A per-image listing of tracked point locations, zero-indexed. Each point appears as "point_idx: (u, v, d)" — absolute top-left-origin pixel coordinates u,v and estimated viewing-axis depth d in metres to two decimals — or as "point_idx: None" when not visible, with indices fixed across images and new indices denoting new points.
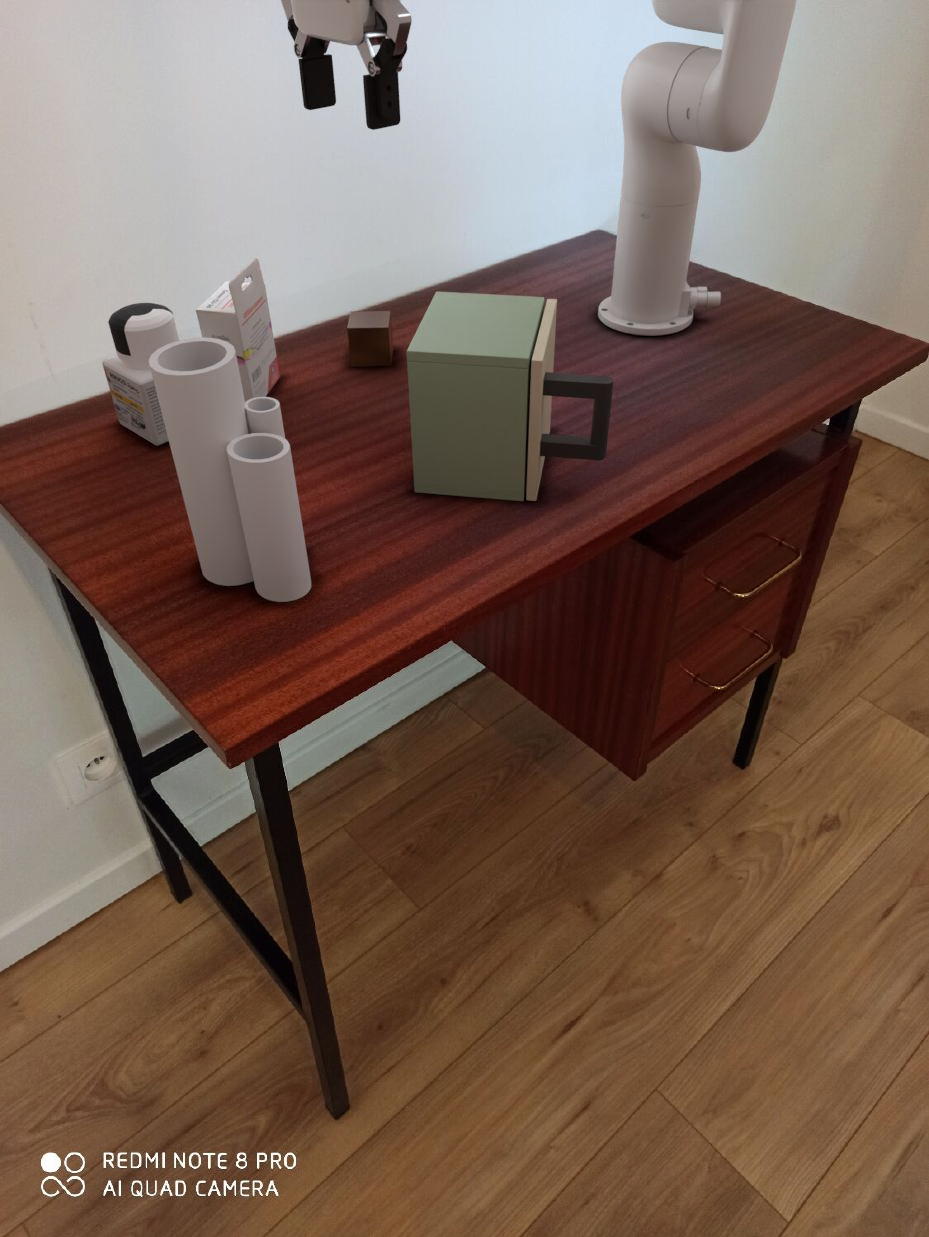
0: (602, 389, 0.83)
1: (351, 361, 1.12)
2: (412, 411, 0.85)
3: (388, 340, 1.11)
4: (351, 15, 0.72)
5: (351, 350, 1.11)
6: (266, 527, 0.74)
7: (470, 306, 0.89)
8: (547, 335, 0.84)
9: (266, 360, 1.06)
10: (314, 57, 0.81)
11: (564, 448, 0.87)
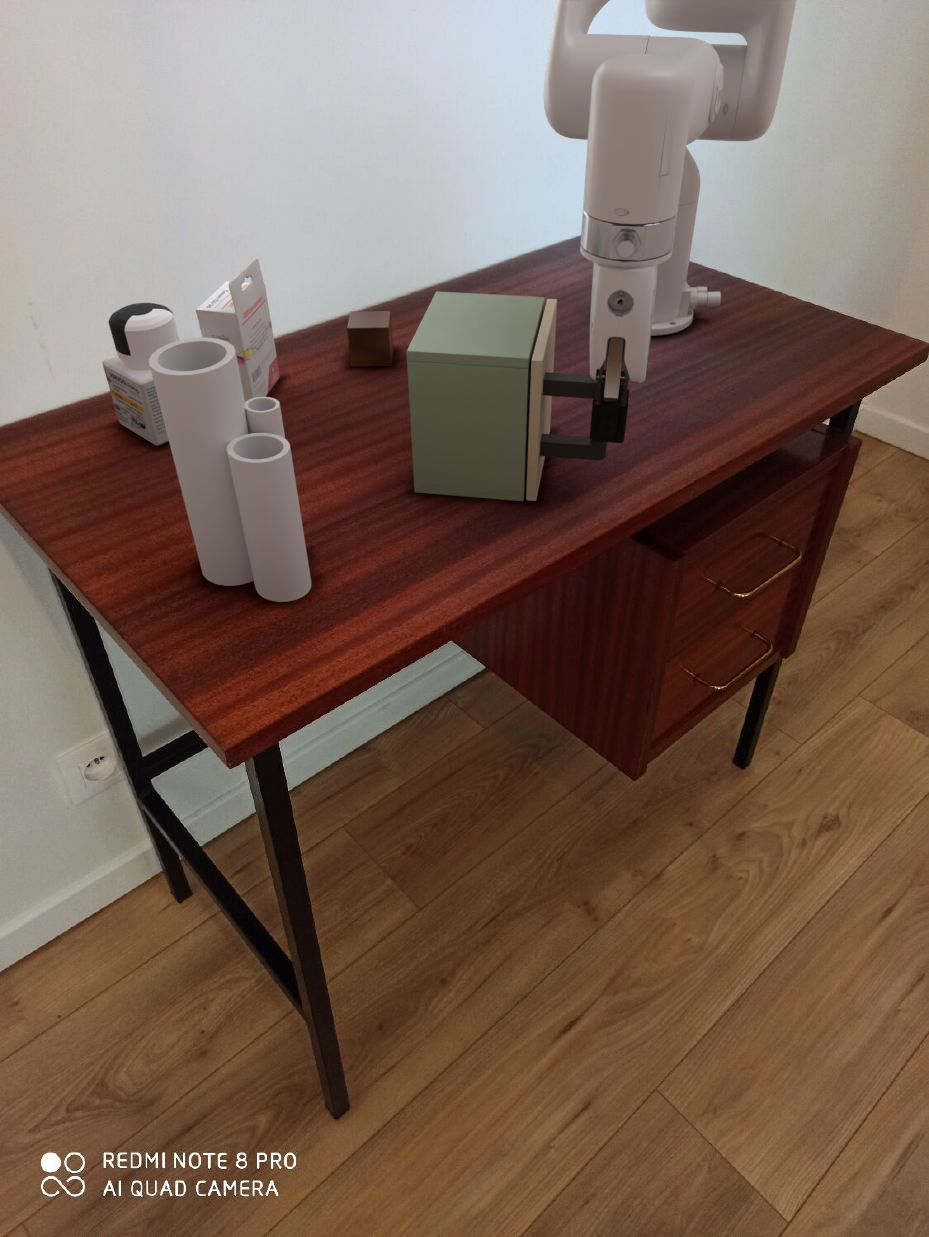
0: None
1: (351, 361, 1.12)
2: (412, 411, 0.85)
3: (388, 340, 1.11)
4: (590, 359, 0.77)
5: (351, 350, 1.11)
6: (266, 527, 0.74)
7: (470, 306, 0.89)
8: (547, 335, 0.84)
9: (266, 360, 1.06)
10: None
11: (564, 448, 0.87)
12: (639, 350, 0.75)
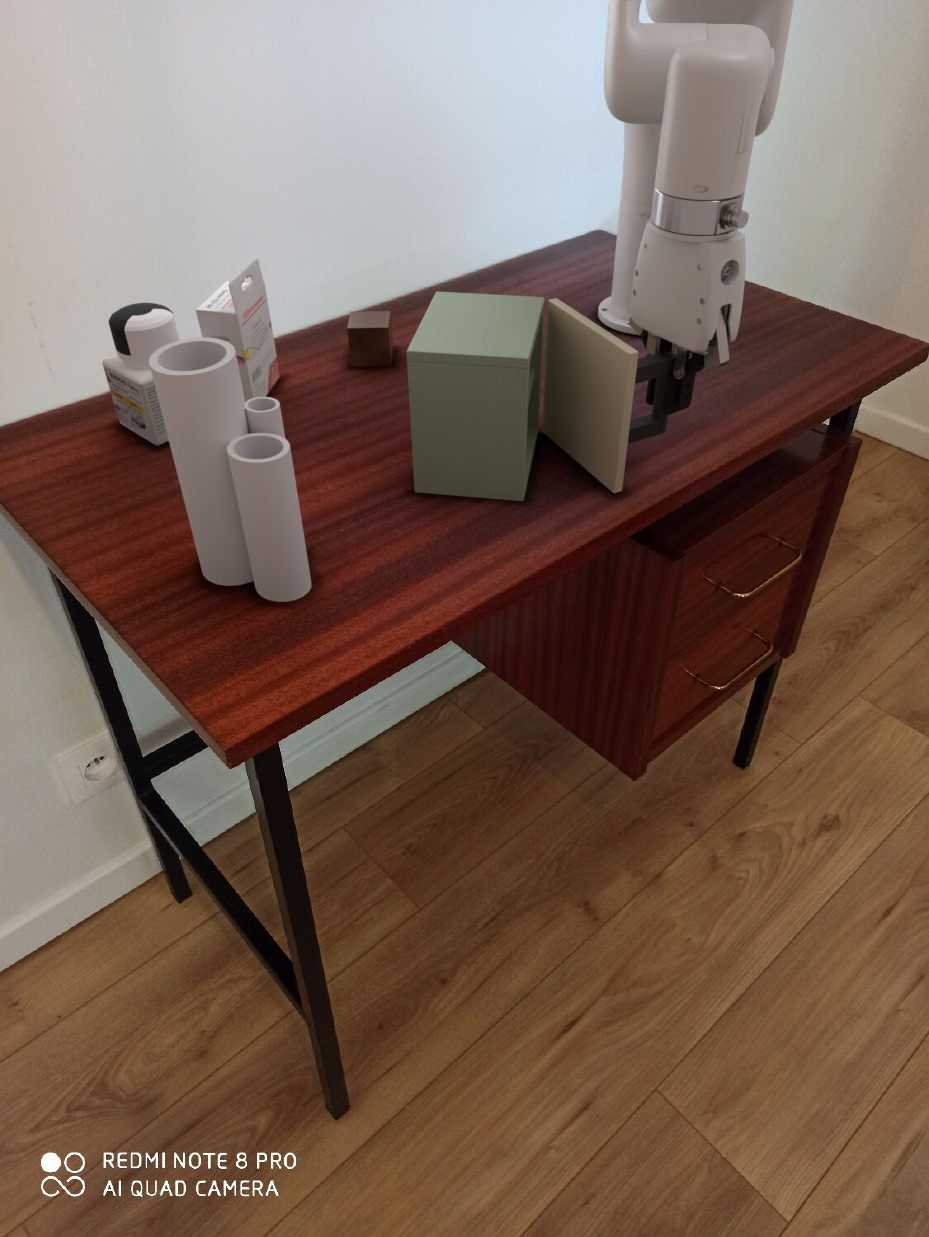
0: (671, 364, 0.86)
1: (351, 361, 1.12)
2: (412, 411, 0.85)
3: (388, 340, 1.11)
4: (699, 333, 0.81)
5: (351, 350, 1.11)
6: (266, 527, 0.74)
7: (470, 306, 0.89)
8: (604, 329, 0.85)
9: (266, 360, 1.06)
10: None
11: (637, 432, 0.89)
12: (739, 310, 0.81)
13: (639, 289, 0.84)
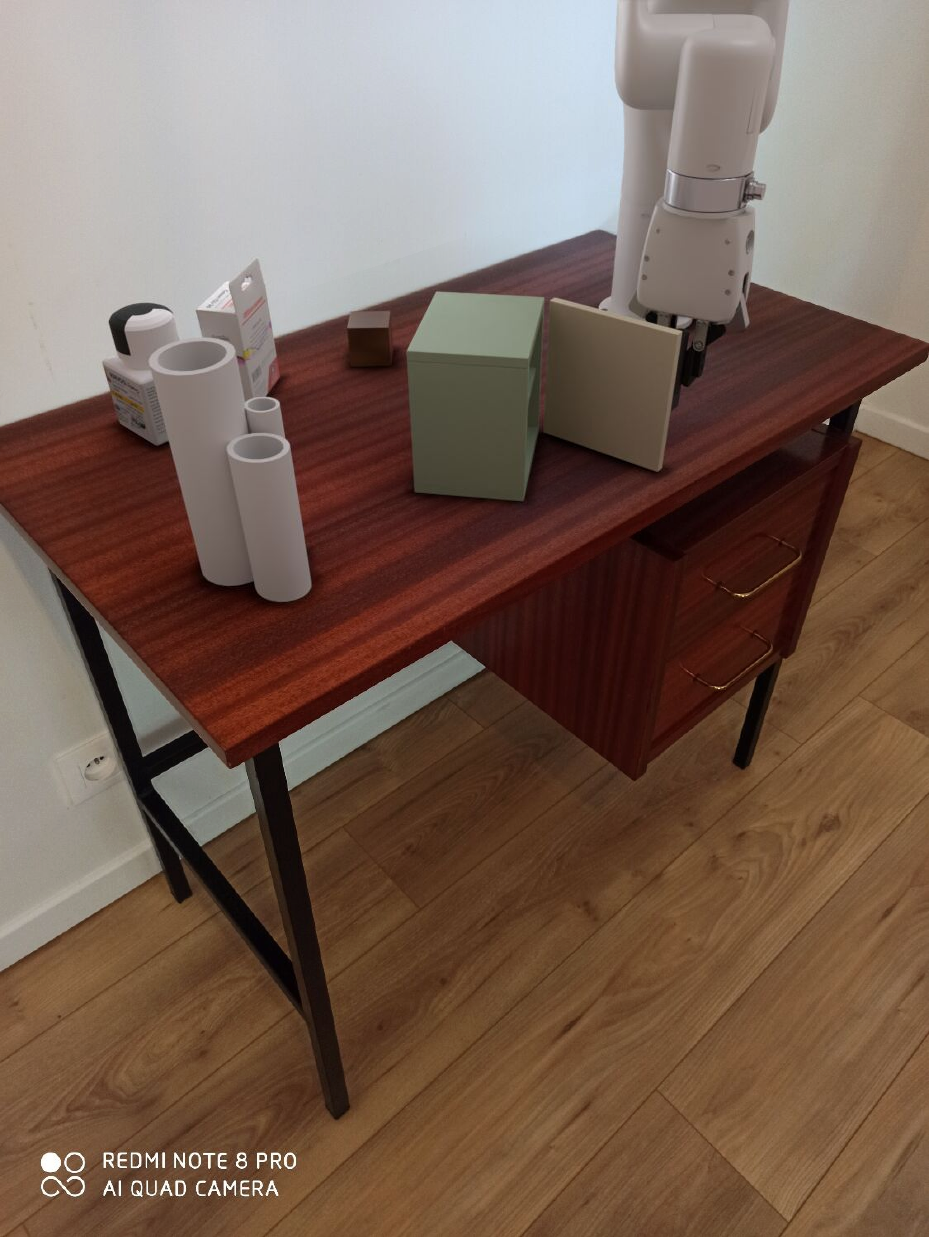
0: (687, 339, 0.90)
1: (351, 361, 1.12)
2: (412, 411, 0.85)
3: (388, 340, 1.11)
4: (728, 303, 0.86)
5: (351, 350, 1.11)
6: (266, 527, 0.74)
7: (470, 306, 0.89)
8: (631, 318, 0.87)
9: (266, 360, 1.06)
10: None
11: None
12: (750, 277, 0.87)
13: (651, 273, 0.88)
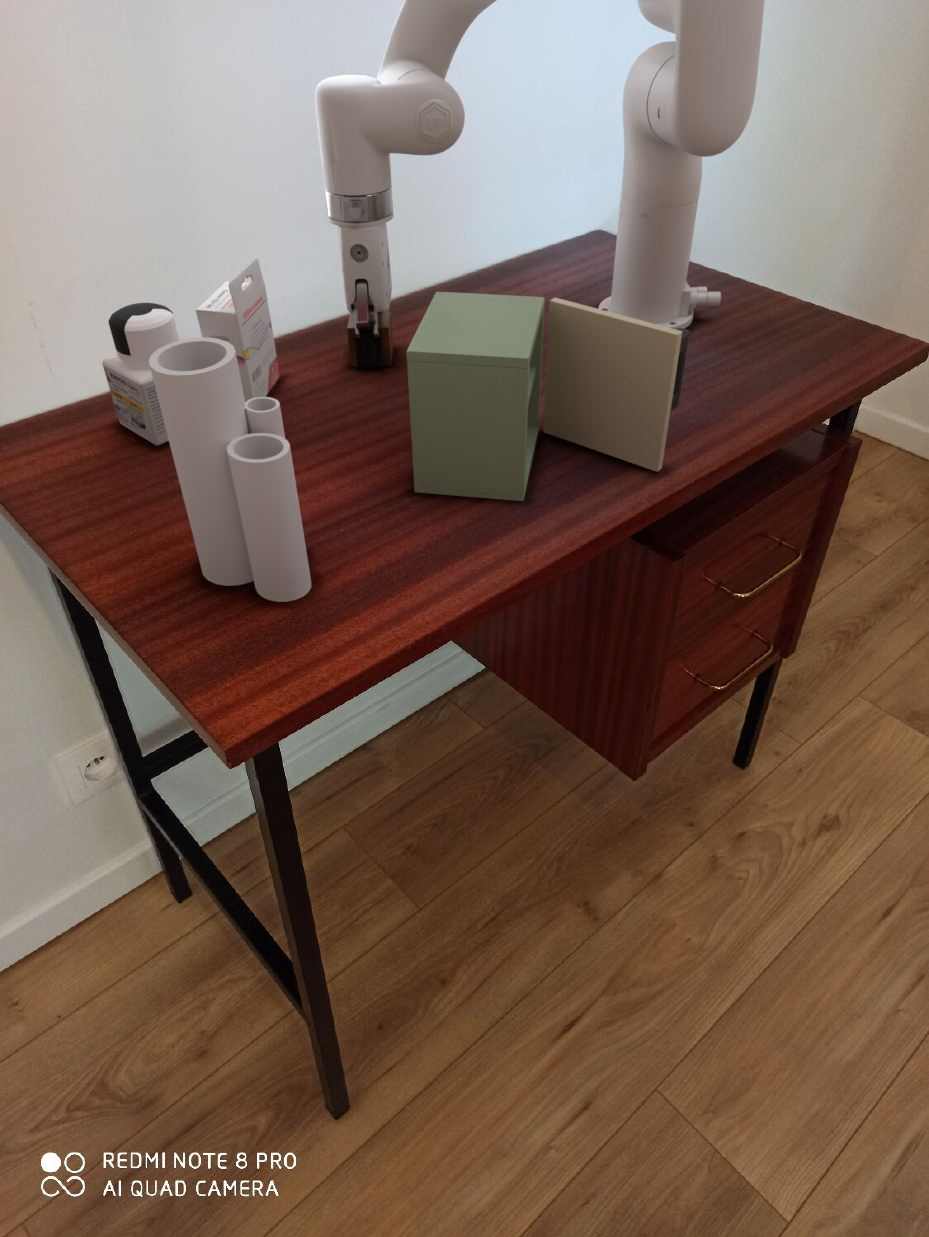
0: (687, 339, 0.90)
1: (351, 361, 1.12)
2: (412, 411, 0.85)
3: (388, 340, 1.11)
4: (345, 297, 1.05)
5: (351, 350, 1.11)
6: (266, 527, 0.74)
7: (470, 306, 0.89)
8: (631, 318, 0.87)
9: (266, 360, 1.06)
10: None
11: None
12: (378, 287, 1.04)
13: None
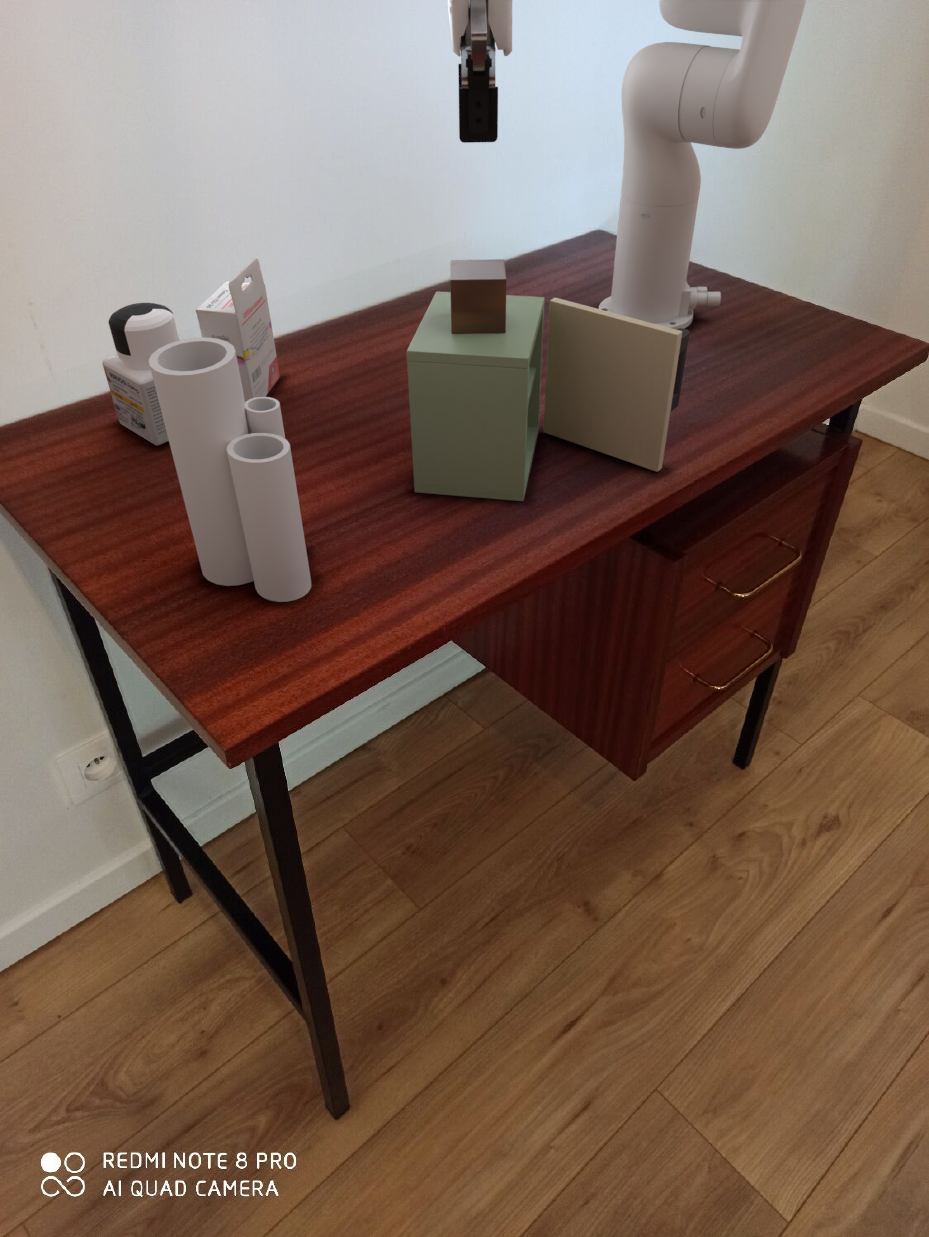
0: (687, 339, 0.90)
1: (452, 326, 0.84)
2: (412, 411, 0.85)
3: (504, 297, 0.82)
4: (452, 26, 0.72)
5: (454, 311, 0.83)
6: (266, 527, 0.74)
7: None
8: (631, 318, 0.87)
9: (266, 360, 1.06)
10: None
11: None
12: (503, 7, 0.70)
13: None
